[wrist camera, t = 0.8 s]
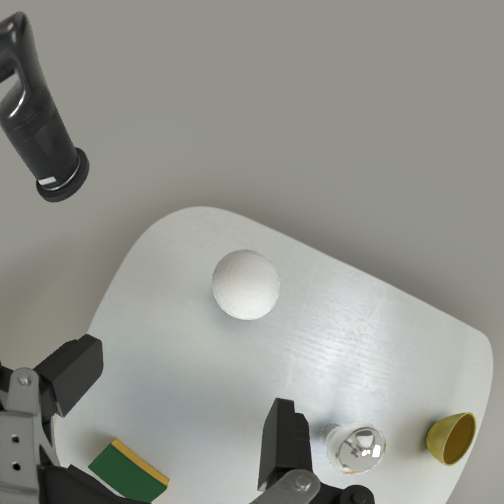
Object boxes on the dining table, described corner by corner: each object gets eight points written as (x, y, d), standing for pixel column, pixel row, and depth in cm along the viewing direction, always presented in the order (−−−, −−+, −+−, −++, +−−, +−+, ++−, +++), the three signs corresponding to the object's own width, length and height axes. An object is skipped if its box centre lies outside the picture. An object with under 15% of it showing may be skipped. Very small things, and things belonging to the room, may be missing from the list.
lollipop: (261, 319, 35) (300, 299, 21) (219, 335, 33) (230, 327, 19) (244, 276, 36) (270, 230, 22) (202, 290, 35) (201, 251, 21)
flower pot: (424, 467, 29) (448, 475, 22) (409, 439, 31) (437, 447, 24) (454, 429, 32) (479, 433, 25) (442, 399, 34) (470, 401, 28)
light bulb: (343, 450, 30) (390, 476, 18) (299, 453, 29) (338, 488, 18) (351, 408, 32) (403, 424, 21) (307, 410, 31) (351, 432, 20)
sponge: (95, 459, 23) (87, 467, 20) (116, 437, 26) (109, 444, 23) (146, 498, 23) (142, 509, 20) (169, 478, 25) (167, 489, 22)
